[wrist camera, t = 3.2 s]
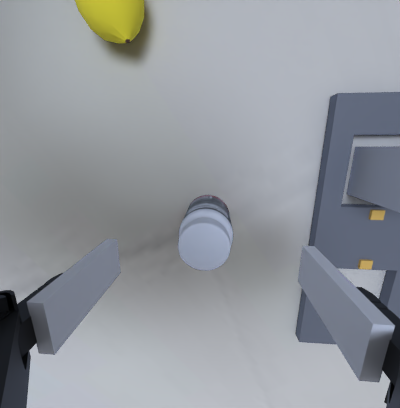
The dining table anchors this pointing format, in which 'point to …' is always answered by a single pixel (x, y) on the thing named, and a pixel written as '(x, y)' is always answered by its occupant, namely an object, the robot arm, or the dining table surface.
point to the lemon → (113, 18)
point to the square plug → (376, 176)
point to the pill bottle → (205, 233)
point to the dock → (353, 206)
